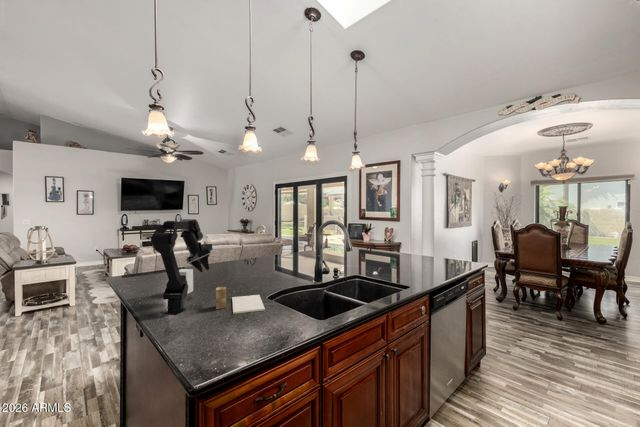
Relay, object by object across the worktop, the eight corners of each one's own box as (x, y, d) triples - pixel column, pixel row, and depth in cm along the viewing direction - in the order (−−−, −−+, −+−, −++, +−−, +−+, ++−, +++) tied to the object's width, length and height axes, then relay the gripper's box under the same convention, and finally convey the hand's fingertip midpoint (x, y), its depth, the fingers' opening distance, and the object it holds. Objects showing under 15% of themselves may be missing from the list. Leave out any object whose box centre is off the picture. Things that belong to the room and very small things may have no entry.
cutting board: (233, 313, 124) (233, 312, 124) (232, 298, 145) (232, 297, 145) (264, 310, 129) (264, 308, 128) (259, 296, 149) (259, 294, 149)
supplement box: (193, 290, 158) (193, 269, 158) (186, 294, 151) (186, 271, 151) (181, 290, 159) (181, 268, 159) (173, 294, 152) (173, 271, 152)
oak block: (216, 309, 130) (216, 290, 130) (216, 305, 134) (216, 287, 134) (226, 308, 131) (226, 289, 131) (226, 305, 136) (226, 286, 135)
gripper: (213, 233, 140) (226, 261, 140) (200, 240, 153) (212, 266, 154) (192, 242, 132) (206, 271, 133) (180, 248, 145) (193, 275, 146)
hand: (205, 270), depth 141 cm, fingers open, 9 cm apart
